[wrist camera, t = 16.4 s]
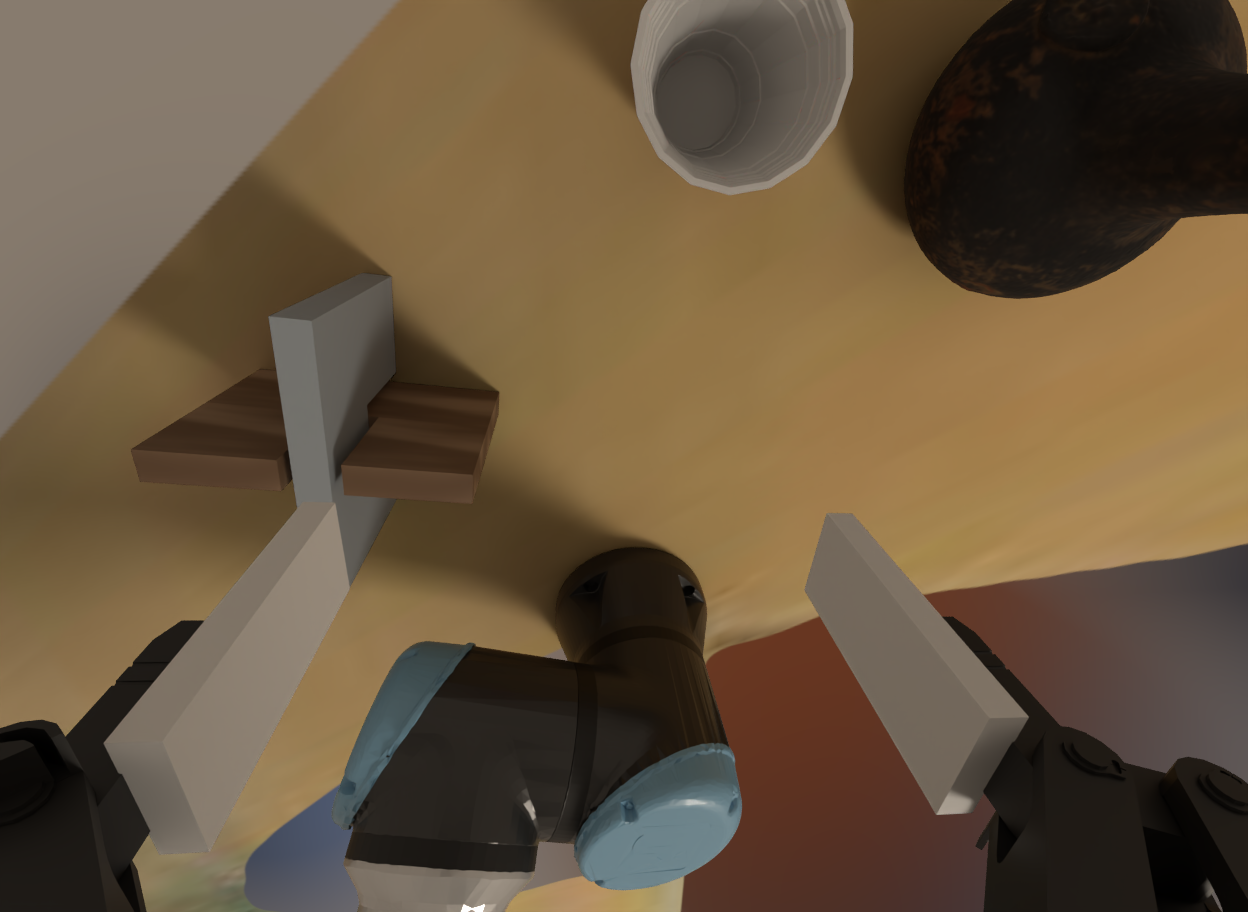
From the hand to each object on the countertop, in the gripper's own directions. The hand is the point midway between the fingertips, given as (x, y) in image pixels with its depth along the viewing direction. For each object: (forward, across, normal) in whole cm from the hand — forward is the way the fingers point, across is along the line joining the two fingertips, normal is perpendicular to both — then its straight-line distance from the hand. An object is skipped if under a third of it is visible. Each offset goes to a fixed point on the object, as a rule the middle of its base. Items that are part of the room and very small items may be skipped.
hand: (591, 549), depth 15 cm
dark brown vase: (+31, -29, -13) cm, 45 cm away
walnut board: (+31, +15, +7) cm, 35 cm away
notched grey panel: (+31, +15, +7) cm, 35 cm away
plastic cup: (+31, -7, -15) cm, 35 cm away
